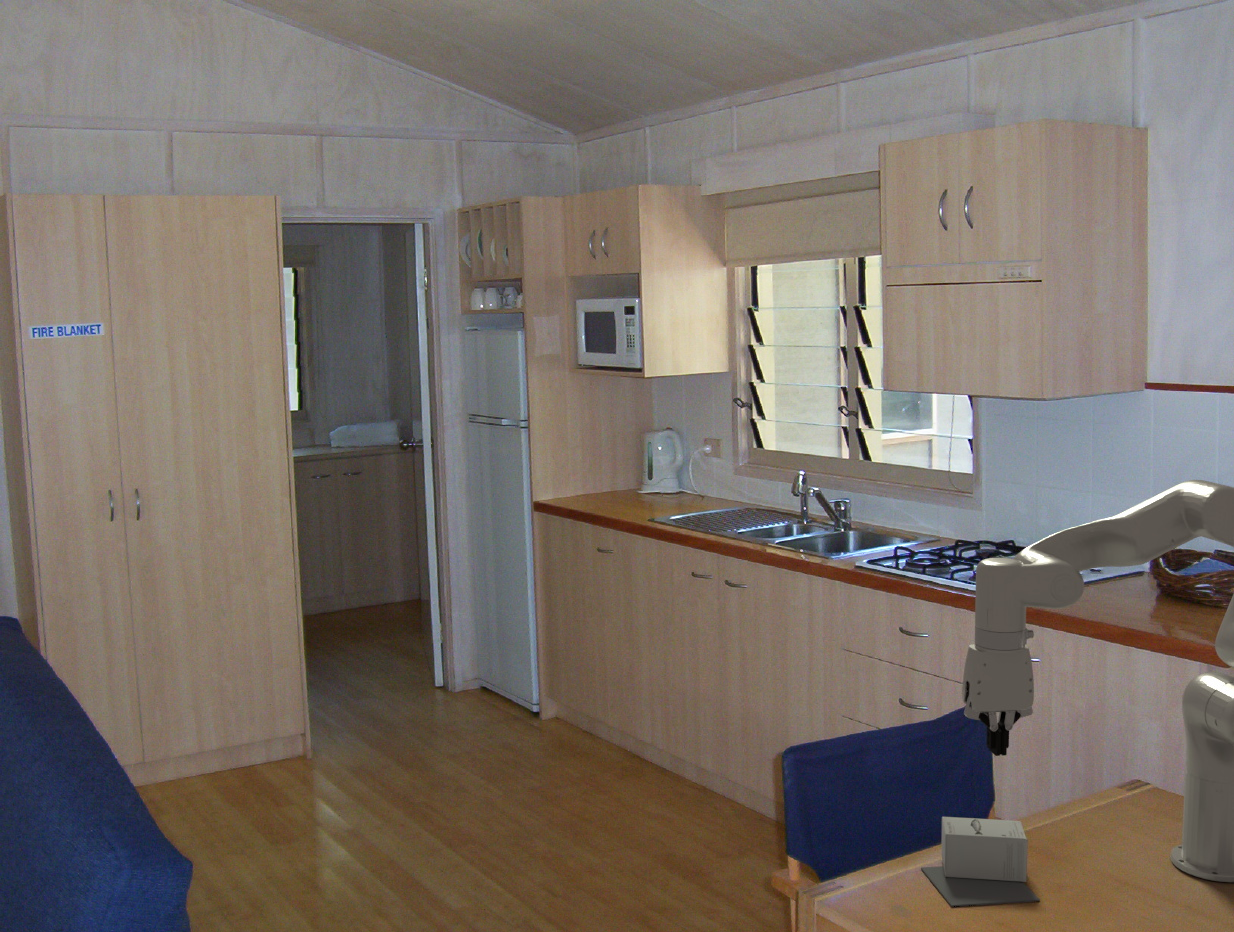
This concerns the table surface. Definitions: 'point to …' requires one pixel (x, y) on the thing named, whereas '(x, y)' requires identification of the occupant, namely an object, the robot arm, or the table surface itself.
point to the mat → (978, 889)
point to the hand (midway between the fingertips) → (997, 752)
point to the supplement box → (984, 849)
